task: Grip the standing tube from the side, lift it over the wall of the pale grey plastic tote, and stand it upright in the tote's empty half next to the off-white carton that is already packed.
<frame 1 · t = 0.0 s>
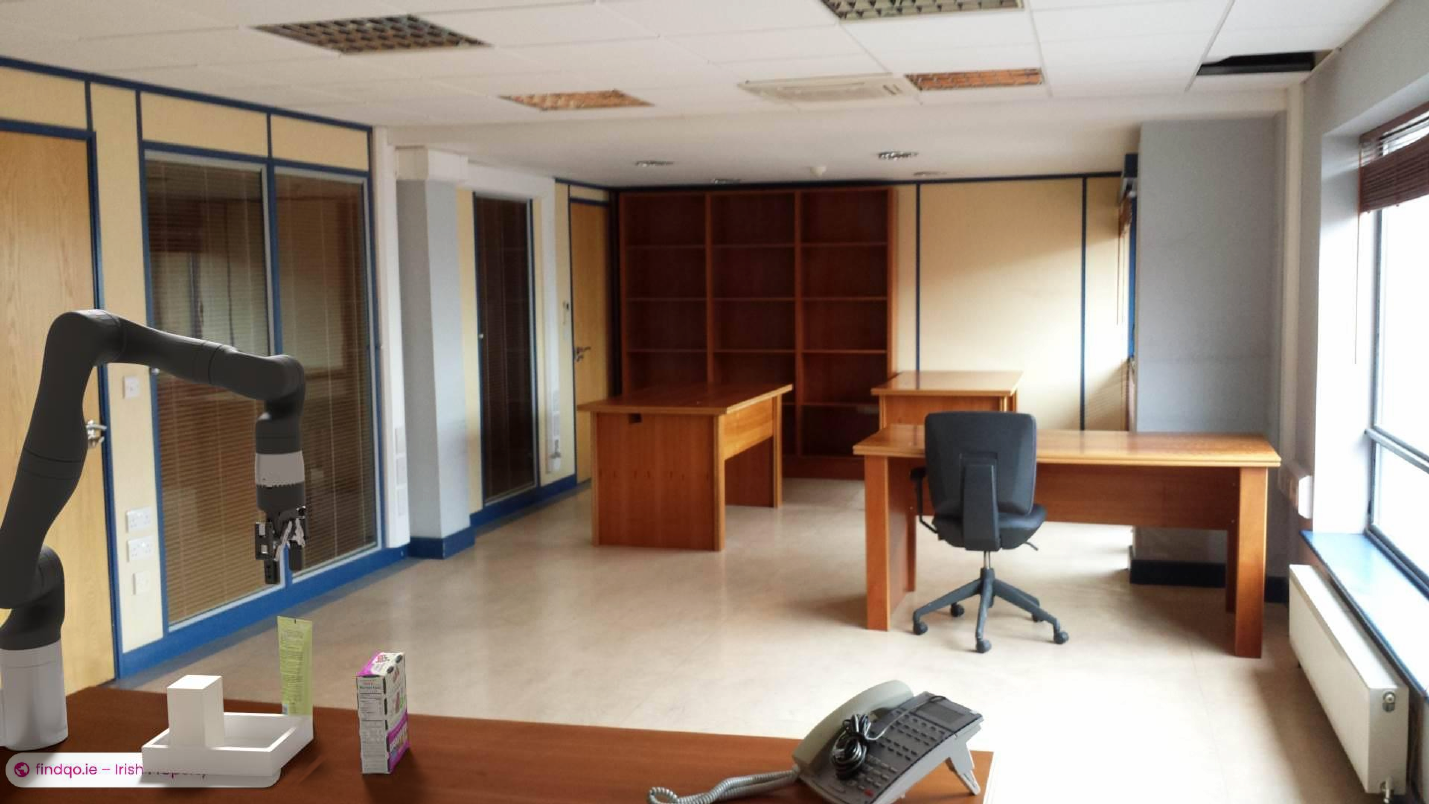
hand: (284, 576, 193), 29 cm above the table, tool pointing down, fingers open, 8 cm apart
candy bar box: (385, 761, 192), on the table
carton: (198, 753, 192), point 1 cm above the table, touching tote
tube: (299, 729, 205), on the table
tote: (231, 760, 192), on the table
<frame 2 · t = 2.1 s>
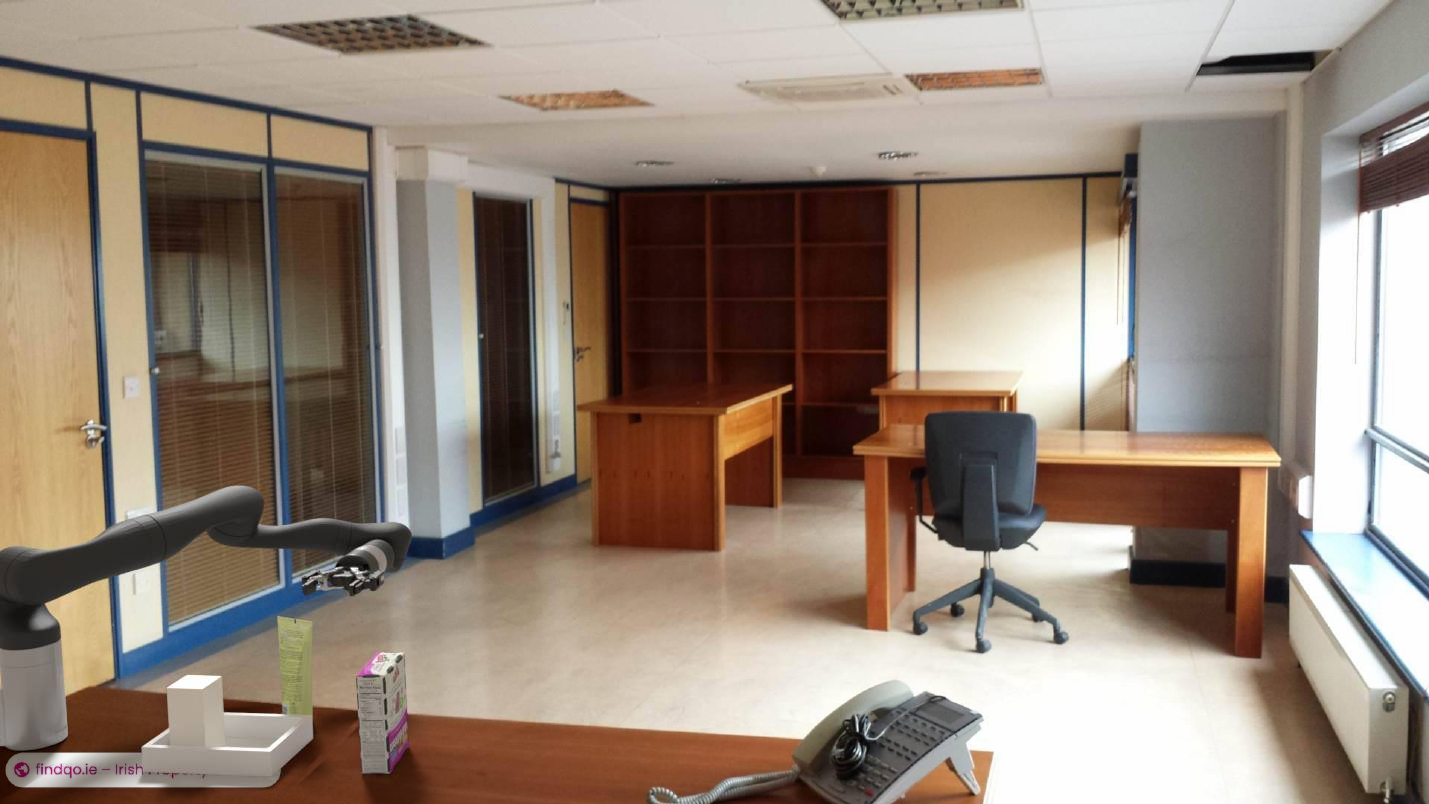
hand: (328, 590, 216), 21 cm above the table, tool horizontal, fingers open, 8 cm apart
nothing on the table moved.
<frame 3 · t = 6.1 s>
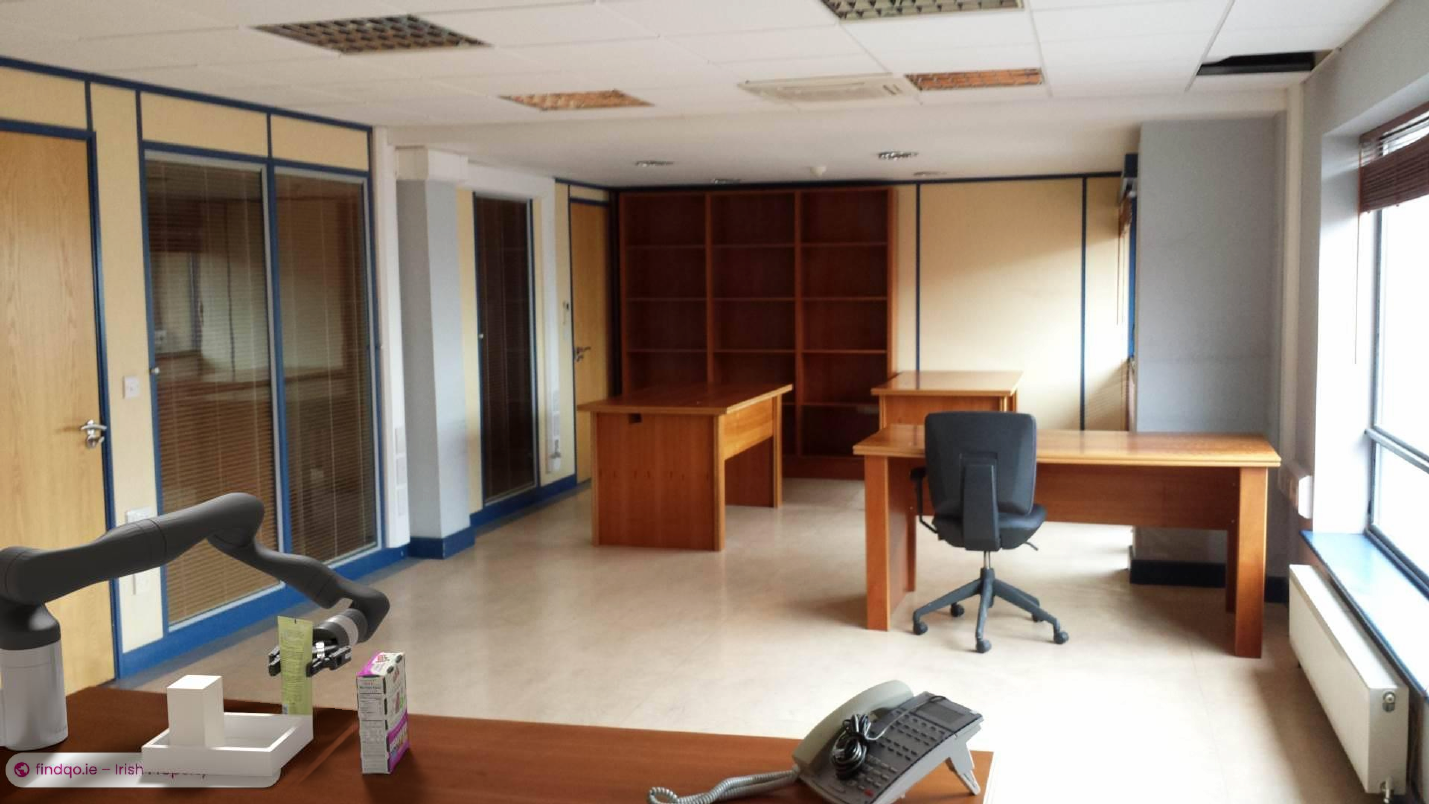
hand: (289, 671, 202), 11 cm above the table, tool horizontal, fingers closed on tube, 5 cm apart
tube: (299, 729, 205), on the table, touching gripper
everything else where it was.
when the fingers open (13 cm above the table, at t = 11.3 s): tube moves 2 cm, resting on tote.
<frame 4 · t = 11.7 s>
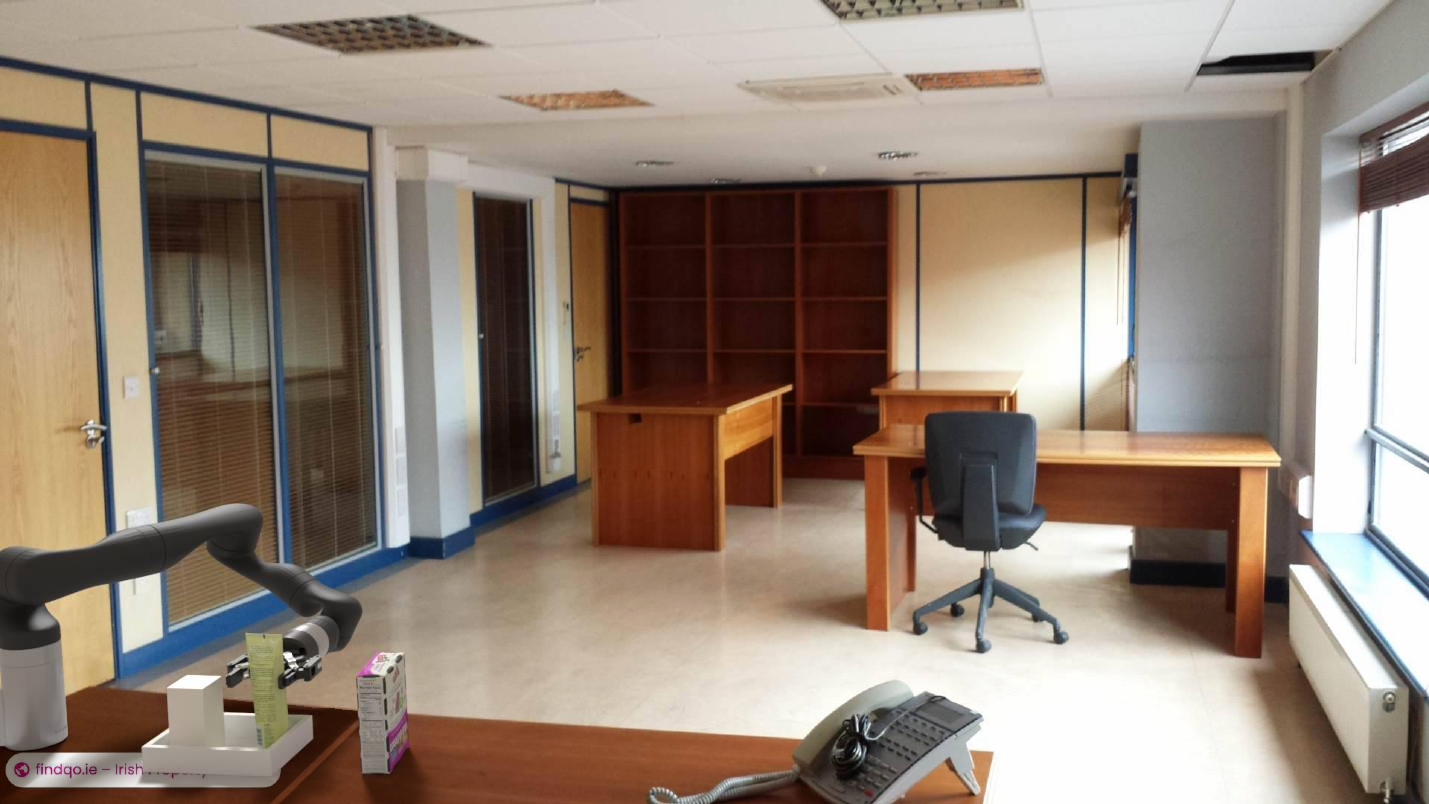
hand: (254, 682, 189), 13 cm above the table, tool horizontal, fingers open, 8 cm apart
tube: (276, 752, 192), point 1 cm above the table, touching gripper, tote
everything else where it was.
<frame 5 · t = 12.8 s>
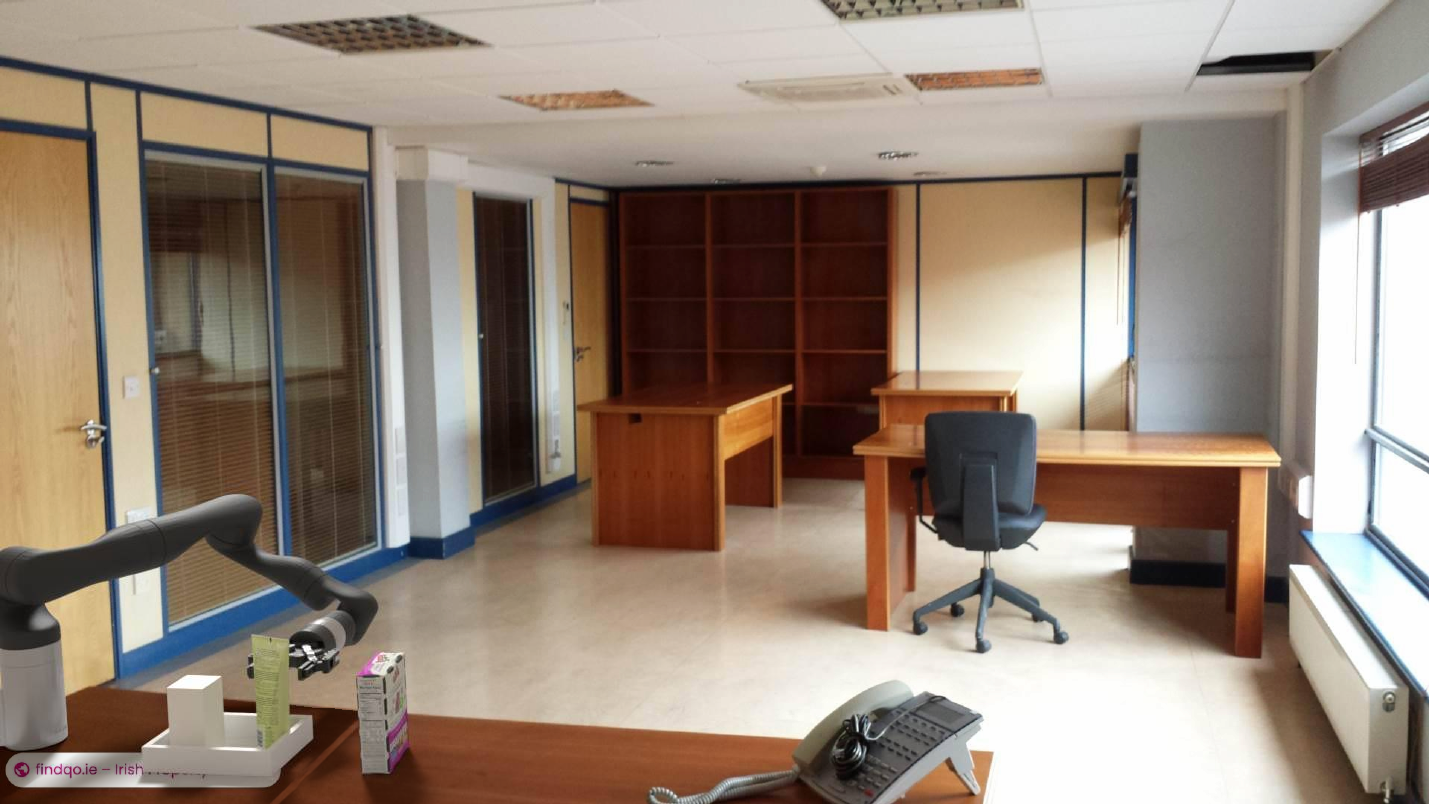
hand: (274, 674, 195), 13 cm above the table, tool horizontal, fingers open, 8 cm apart
tube: (275, 754, 192), point 1 cm above the table, touching tote
everything else where it was.
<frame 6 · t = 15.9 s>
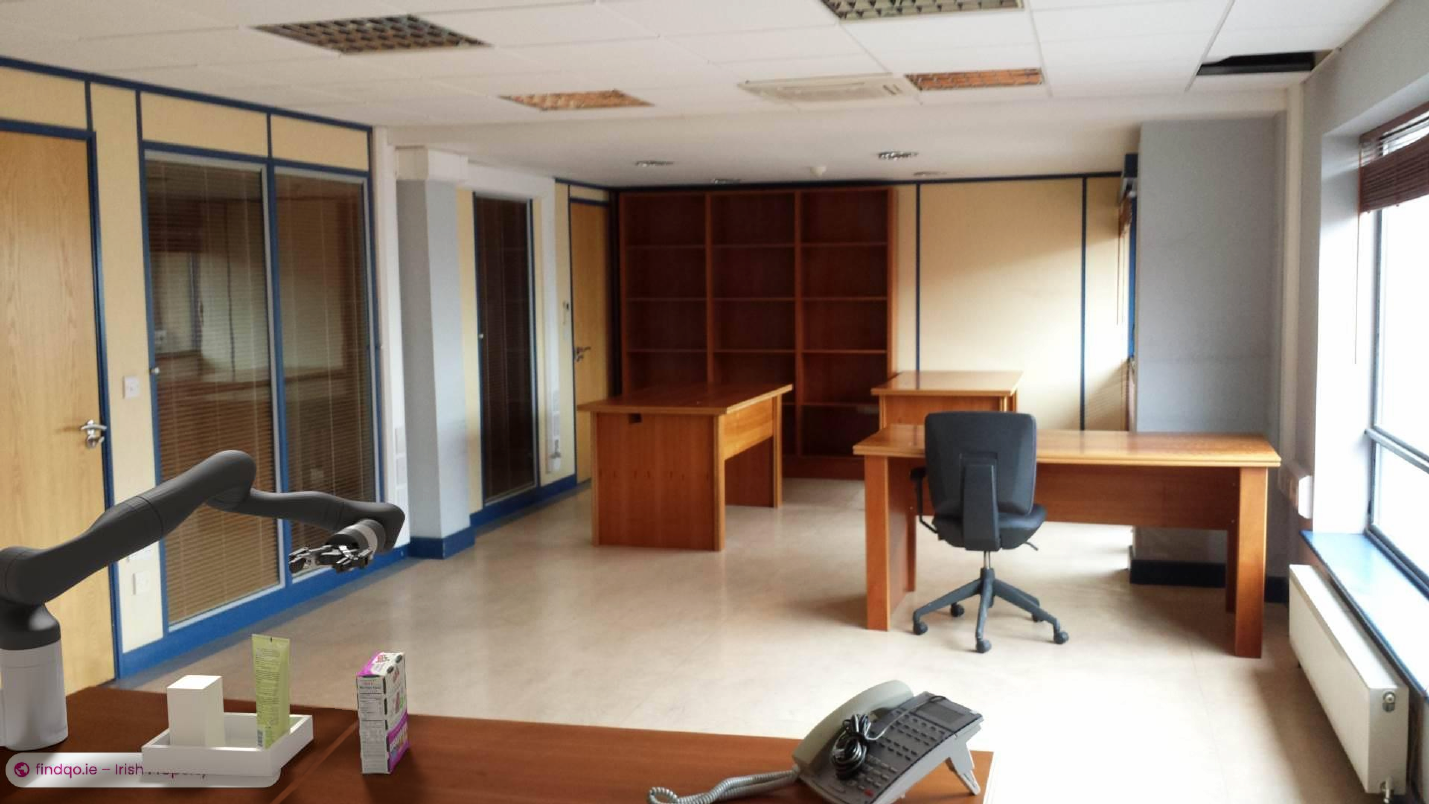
hand: (314, 568, 211), 26 cm above the table, tool horizontal, fingers open, 8 cm apart
nothing on the table moved.
at the end: tube inside the target area (6.9 cm from its centre), point 0.8 cm above the table; tube tilted 0°; the gripper is holding nothing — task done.
